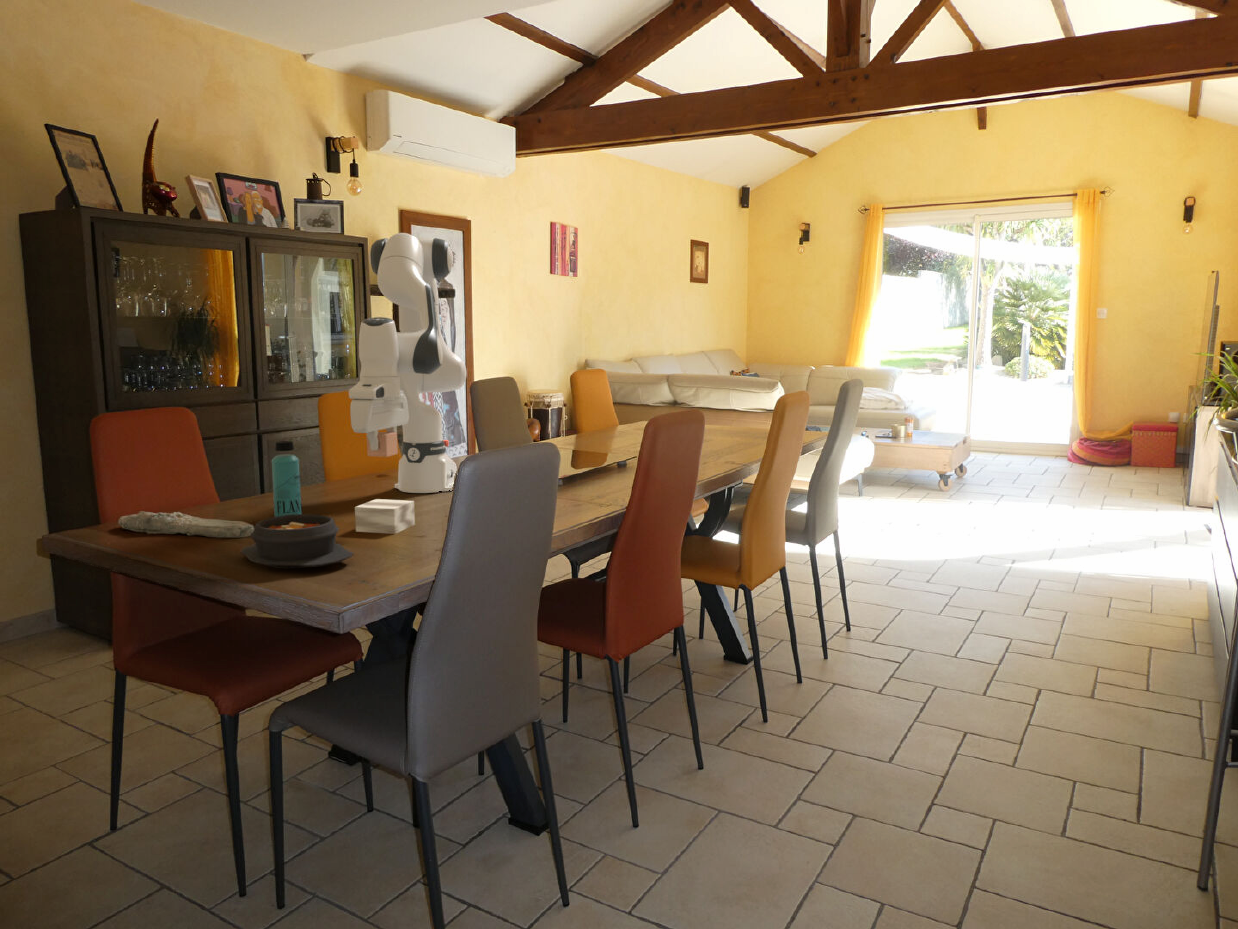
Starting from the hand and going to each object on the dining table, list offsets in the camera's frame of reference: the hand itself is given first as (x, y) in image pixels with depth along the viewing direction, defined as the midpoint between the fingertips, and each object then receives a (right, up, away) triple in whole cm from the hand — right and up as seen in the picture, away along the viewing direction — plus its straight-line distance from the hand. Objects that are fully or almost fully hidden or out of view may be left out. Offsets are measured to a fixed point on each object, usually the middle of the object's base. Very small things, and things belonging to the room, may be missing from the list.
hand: (382, 448), depth 210 cm
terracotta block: (0, -2, 0) cm, 2 cm away
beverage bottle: (-25, -18, +8) cm, 32 cm away
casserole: (-10, -24, -27) cm, 37 cm away
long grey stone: (-45, -20, -1) cm, 50 cm away
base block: (0, -19, +3) cm, 19 cm away
